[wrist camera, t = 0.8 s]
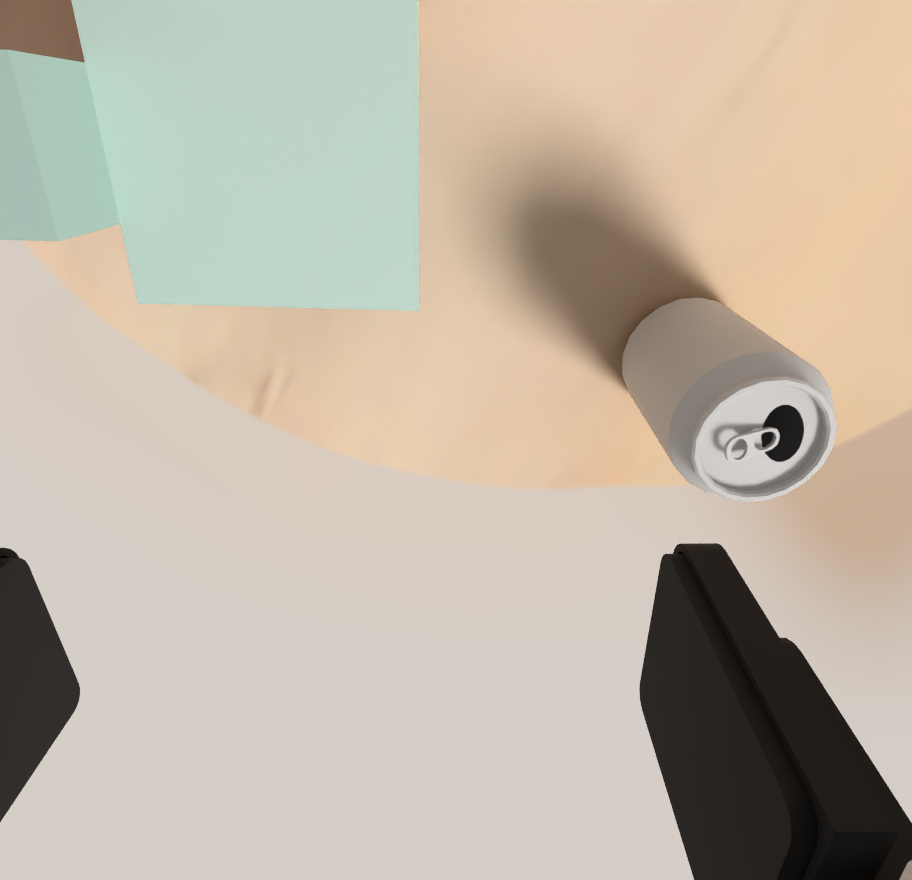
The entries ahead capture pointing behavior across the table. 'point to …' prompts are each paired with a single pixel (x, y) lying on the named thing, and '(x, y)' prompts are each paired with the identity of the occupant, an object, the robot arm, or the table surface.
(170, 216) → the mint green stepped block
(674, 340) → the can
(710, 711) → the robot arm
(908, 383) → the table surface
